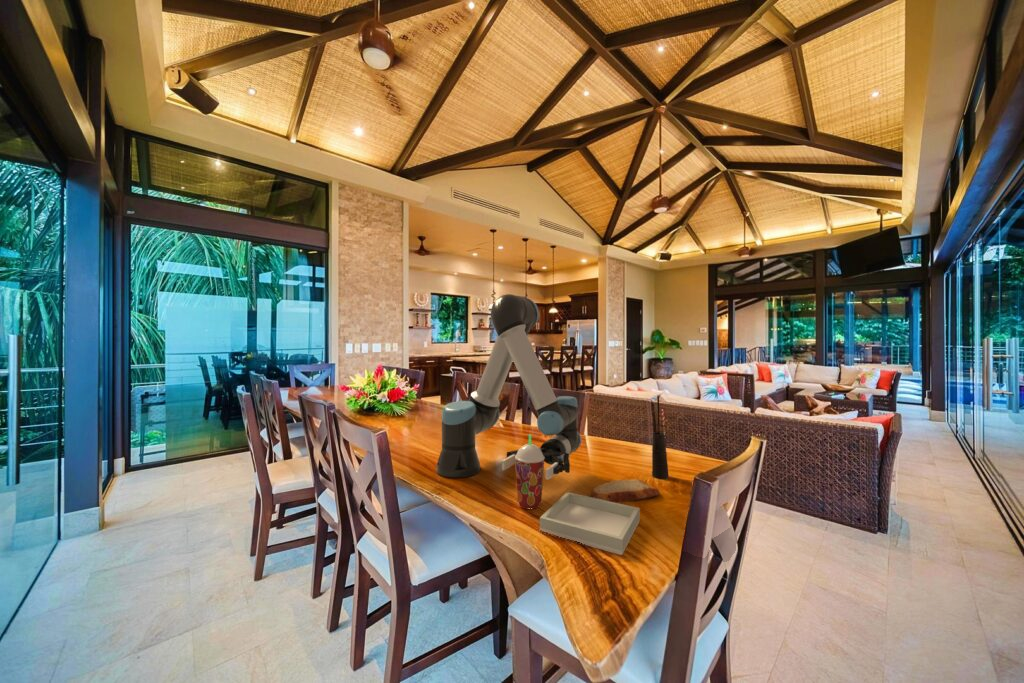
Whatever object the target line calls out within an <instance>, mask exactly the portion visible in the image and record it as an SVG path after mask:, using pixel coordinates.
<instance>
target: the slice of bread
mask: <svg viewBox="0 0 1024 683" xmlns="http://www.w3.org/2000/svg"><path fill="white" fill-rule="evenodd" d="M659 495H660V491H659V489H658V488H655V487H653V486H652V485H650V484H648V483H647V482H645V481H643V480H642V479H640V478H632V479H631V478H630V479H617V480H611V481H608V482H606V483H602V484H599V485H596V486H595V487H594V488H593V489H592V490H591V494H590V497H592V498H596V499H601V500H605V501H610V502H614V503H619V502H631V501H639V500H642V501H643V500H645V499H646V500H648V499H649V498H654V497H656V496H659Z"/></svg>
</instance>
